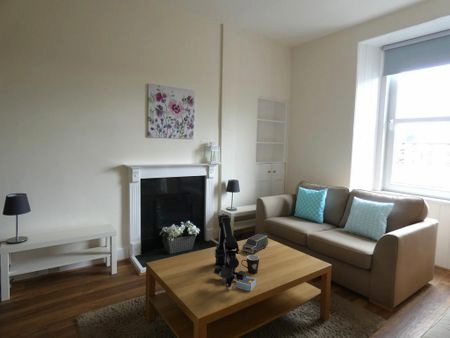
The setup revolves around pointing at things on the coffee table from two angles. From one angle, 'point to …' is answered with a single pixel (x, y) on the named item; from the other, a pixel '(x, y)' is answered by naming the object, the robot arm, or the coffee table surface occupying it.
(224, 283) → the pivot stand
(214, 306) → the coffee table surface
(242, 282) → the dish
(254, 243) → the toy van
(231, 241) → the robot arm
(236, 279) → the lever
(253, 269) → the coffee mug
